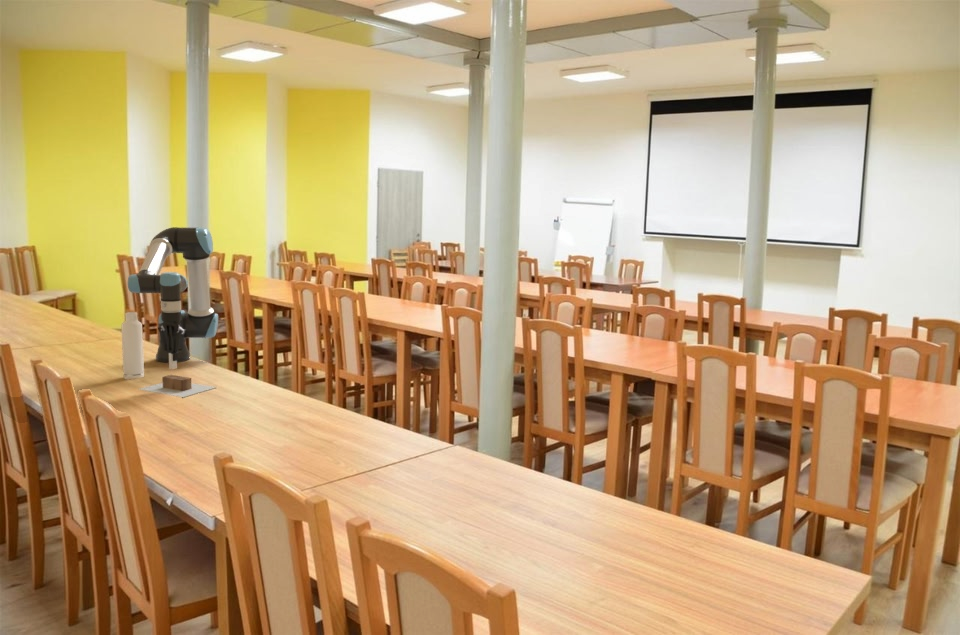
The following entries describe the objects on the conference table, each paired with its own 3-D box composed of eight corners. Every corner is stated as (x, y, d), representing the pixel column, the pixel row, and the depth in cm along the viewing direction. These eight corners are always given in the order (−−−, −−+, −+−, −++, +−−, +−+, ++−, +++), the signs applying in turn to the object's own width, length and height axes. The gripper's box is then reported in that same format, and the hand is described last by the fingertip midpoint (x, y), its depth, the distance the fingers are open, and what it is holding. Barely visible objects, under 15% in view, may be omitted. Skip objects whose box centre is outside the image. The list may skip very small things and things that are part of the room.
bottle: (138, 379, 320) (136, 314, 316) (120, 379, 320) (117, 314, 316) (147, 375, 328) (145, 311, 324) (129, 374, 328) (126, 311, 324)
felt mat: (172, 380, 320) (172, 380, 320) (216, 388, 310) (216, 387, 310) (137, 390, 304) (137, 389, 303) (182, 398, 294) (182, 397, 294)
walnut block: (171, 374, 310) (191, 377, 306) (171, 385, 311) (191, 388, 307) (162, 376, 306) (182, 380, 302) (162, 387, 307) (183, 391, 303)
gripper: (151, 310, 302) (153, 368, 306) (176, 313, 297) (178, 372, 300) (166, 308, 309) (168, 364, 312) (190, 311, 303) (192, 368, 307)
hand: (173, 368), depth 306 cm, fingers closed
